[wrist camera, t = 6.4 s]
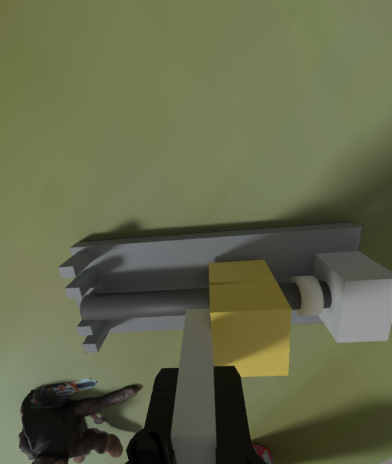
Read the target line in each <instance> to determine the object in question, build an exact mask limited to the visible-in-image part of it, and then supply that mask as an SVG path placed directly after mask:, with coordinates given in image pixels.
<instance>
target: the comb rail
mask: <svg viewBox="0 0 392 464" xmlns="http://www.w3.org/2000/svg"><path fill="white" fill-rule="evenodd" d="M361 231H362V227H361V226H359V225H357V224H355V223H353V222H344V223H331V224H317V225H304V226H290V227H276V228H263V229H249V230H235V231H222V232H208V233H194V234H181V235H167V236H153V237H140V238H126V239H112V240H99V241H85V242H77V243H76V244H74V245H73V246H72V247H70V251H71V255H72V257H71V258H69V259H68V260H67V261H66V262H64V263H63V264H62V265H60V266H59V267H58V269H59V272H60V275H61V278H71V277H76V278H75V279H74V280H73V281H72V282H71V283H70V284H69V285H68V286H67V287H66V288H65V291H66V294H67V297H68V299H69V298H76V300H77V303H78V306H79V310H80V315H81V318H82V321H81V322H80V323H79V325H78V326H77V329H78V332H79V335H80V336H85V335H88V336H87V338H86V340H85V341H84V343H83V344H82V345H83V348H84V351H85V353H89V352H98V351H99V349H100V347H101V345H102V344H103V342H104V340H105V338H106V336H107V334H108V333H117V332H139V331H161V330H182V329H184V323H185V315H186V309H206V308H210V294H209V263H218V262H233V261H249V260H265V262H266V263H267V265H268V267H269V269H270V271H271V272H272V274H273V276H274V278H275V280H276V281H277V283H278V285H279V287H280V289H281V290H282V292H283V294H284V296H285V298H286V299H287V301H288V303H289V305H290V307H291V308H292V311H291V324H312V323H324V324H325V326H326V327H327V329H328V330H329V331H330V333H331V334H332V336H333V337H334V339H335V340H336V341H337V343H344V342H368V341H388V336H389V332H390V327H391V323H392V272H391V271H389V270H388V269H386V268H385V267H383V266H381V265H380V264H378V263H377V262H375V261H374V260H372V259H370V258H369V257H367V256H366V255H364V254H363V253H361V252H359V244H360V238H361Z"/></svg>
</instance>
